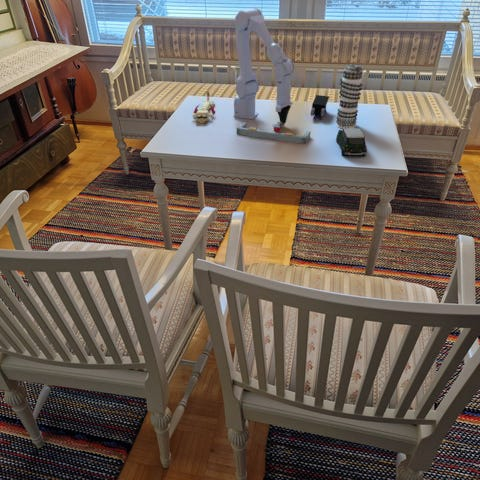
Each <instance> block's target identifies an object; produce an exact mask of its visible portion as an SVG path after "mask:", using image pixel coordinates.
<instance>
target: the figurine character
mask: <svg viewBox="0 0 480 480" xmlns="http://www.w3.org/2000/svg"><path fill="white" fill-rule="evenodd" d="M329 99H330V96H328V95H321V94H316V95H315V97H314V100H313V102H312V103H311V110H310V116H311V117H312V118H313V120H316V118H319V121H321V120H322V118H323V117H325V115H326V114H327V104H328V101H329Z"/></svg>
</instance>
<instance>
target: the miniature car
mask: <svg viewBox="0 0 480 480" xmlns="http://www.w3.org/2000/svg"><path fill="white" fill-rule="evenodd" d="M365 139H366V137H365V135H364V132H363V131H362V129H361V128H357V127H355V128H346V129H343V130H342V129H339V130H338V132H337V134H336V138H335V141H336V142H335V143H337V144H338V146H339V147H340V150H341V156H342V157H345V156H346V155H349V156H351V155H355V156H356V155H358V156H359V155H361V156H363V157H364V156H367V152H368V150H367V145H366V140H365Z"/></svg>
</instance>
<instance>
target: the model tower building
mask: <svg viewBox="0 0 480 480" xmlns="http://www.w3.org/2000/svg"><path fill="white" fill-rule="evenodd" d="M363 72H364V69H363V68H362V66H361V65H360V64H355V63H354V64H353V63H351V64H348V65H346V66H345V67H344V68H343V74H342V78H341V79H340V84H339V85H340V87H339V93H338V94H340V95H339V96H338V98H339V104H338V108H337V116H336V120H335V126H336V127H337V128H339V129H341V130H342V129H343V130H344V129H346V128H356V125H357V120H358V119H357V117H358V112H359V110H358V106H359V104H358V103H359V101H360V99H361V95H362V94H361V91H362V89H363V88H362V87H363V83H362V81H363Z"/></svg>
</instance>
